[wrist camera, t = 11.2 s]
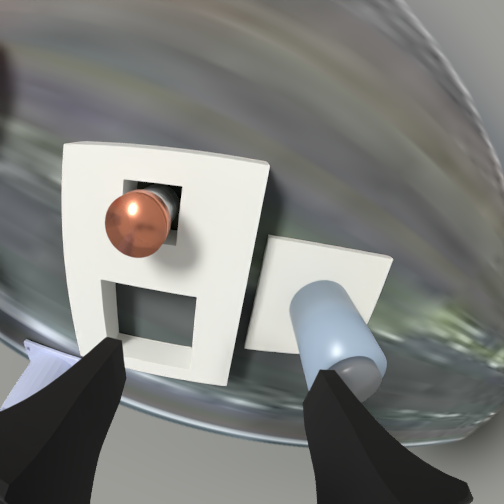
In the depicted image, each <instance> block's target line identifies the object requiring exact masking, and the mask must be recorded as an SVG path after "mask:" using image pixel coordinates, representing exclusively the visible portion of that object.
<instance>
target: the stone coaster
mask: <svg viewBox="0 0 504 504" xmlns="http://www.w3.org/2000/svg"><path fill="white" fill-rule="evenodd" d="M392 261H393V259H392V258H391V257H390V256H387V255H382V254H376V253H371V252H366V251H360V250H355V249H349V248H344V247H338V246H332V245H327V244H321V243H316V242H310V241H304V240H298V239H292V238H286V237H281V236H275V235H269V234H268V238H267V243H266V248H265V252H264V257H263V262H262V266H261V271H260V276H259V280H258V285H257V290H256V294H255V299H254V303H253V308H252V312H251V317H250V321H249V326H248V330H247V335H246V339H245V349H253V350H262V351H271V352H282V353H294V354H299V350H298V346H297V342H296V338H295V334H294V330H293V326H292V322H291V318H290V314H289V307H290V303H291V301H292V299H293V297H294V295H295V294H296V293H297V292H298V291H299V290H300V289H301V288H302V287H304V286H306V285H307V284H309V283H312V282H315V281H319V280H329V281H334V282H336V283H338V284H340V285H341V286H342V287H343V288H344V289H345V290H346V292H347V293H348V295H349V297H350V298H351V300H352V301H353V303H354V305H355V306H356V308H357V310H358V311H359V313H360V315H361V316H362V318H363V320H364V321H365V323H366V325H367V323H368V321H369V319H370V317H371V314H372V312H373V310H374V307H375V305H376V302H377V300H378V298H379V295H380V293H381V290H382V288H383V285H384V282H385V280H386V277H387V275H388V272H389V269H390V267H391V264H392Z"/></svg>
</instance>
